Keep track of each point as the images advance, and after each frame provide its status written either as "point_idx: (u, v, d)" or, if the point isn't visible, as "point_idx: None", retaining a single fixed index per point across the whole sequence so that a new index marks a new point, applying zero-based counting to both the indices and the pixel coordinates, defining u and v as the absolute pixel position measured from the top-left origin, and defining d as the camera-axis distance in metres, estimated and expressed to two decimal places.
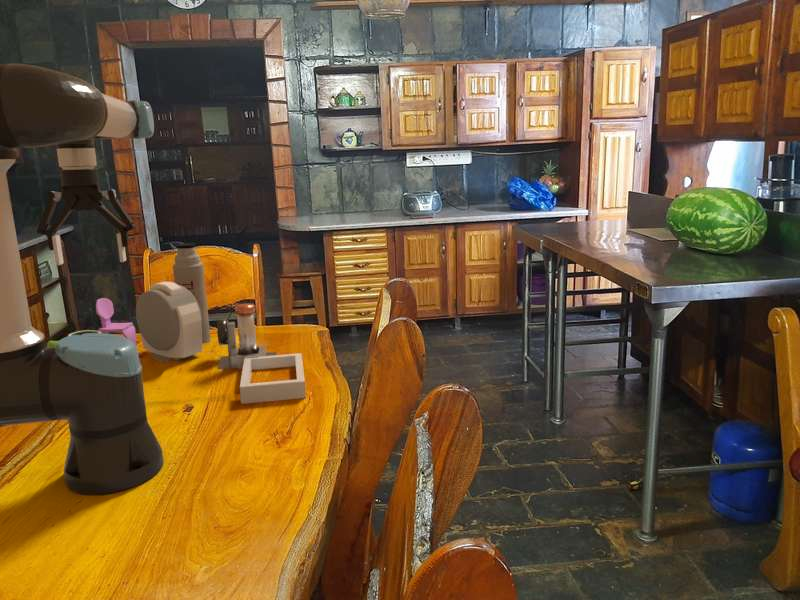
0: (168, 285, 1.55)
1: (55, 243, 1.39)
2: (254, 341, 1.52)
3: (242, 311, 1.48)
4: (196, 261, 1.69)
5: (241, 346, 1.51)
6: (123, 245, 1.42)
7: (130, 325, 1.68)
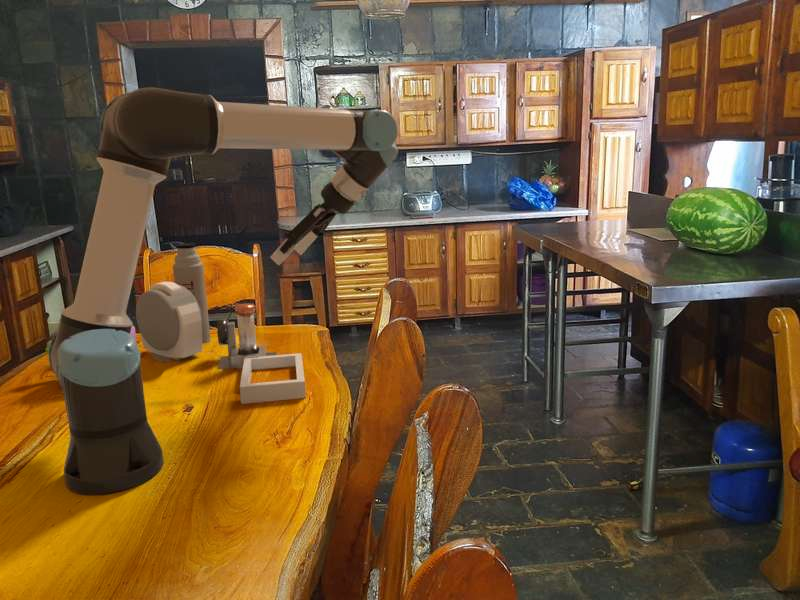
0: (168, 285, 1.55)
1: None
2: (254, 341, 1.52)
3: (242, 311, 1.48)
4: (196, 261, 1.69)
5: (241, 346, 1.51)
6: None
7: None
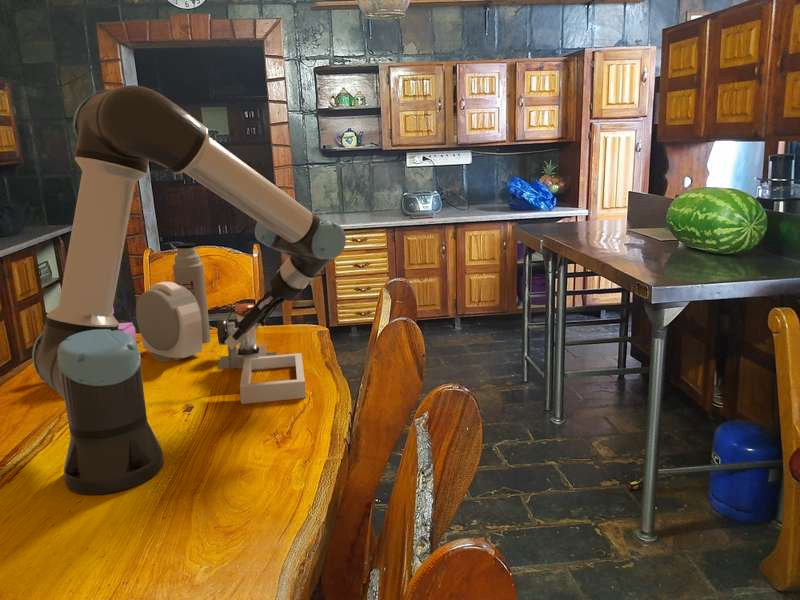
0: (168, 285, 1.55)
1: None
2: (254, 341, 1.52)
3: (242, 311, 1.48)
4: (196, 261, 1.69)
5: (241, 346, 1.51)
6: None
7: (130, 325, 1.68)
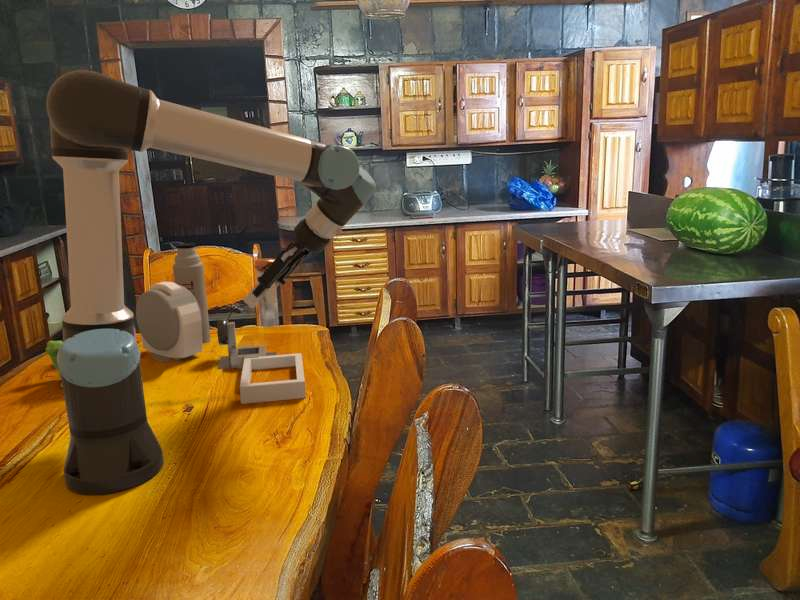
0: (168, 285, 1.55)
1: None
2: (275, 300, 1.37)
3: (263, 266, 1.33)
4: (196, 261, 1.69)
5: (261, 305, 1.36)
6: None
7: None
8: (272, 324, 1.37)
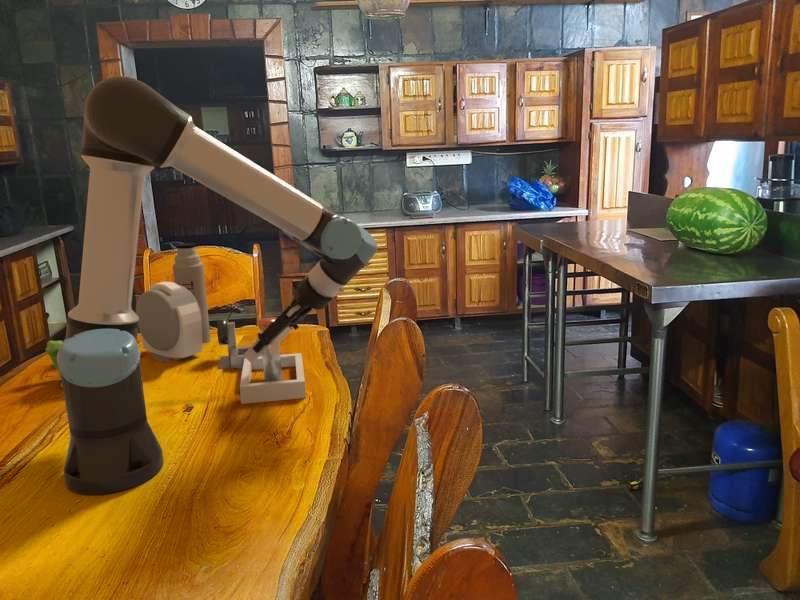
0: (168, 285, 1.55)
1: None
2: (279, 358, 1.40)
3: (267, 326, 1.36)
4: (196, 261, 1.69)
5: (264, 363, 1.39)
6: None
7: None
8: None
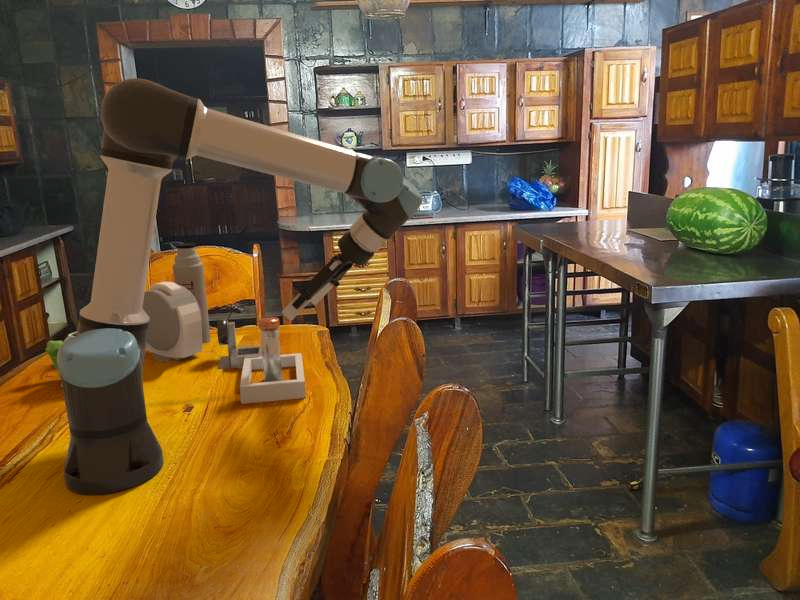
0: (168, 285, 1.55)
1: None
2: (279, 358, 1.40)
3: (267, 326, 1.36)
4: (196, 261, 1.69)
5: (264, 363, 1.39)
6: None
7: None
8: None
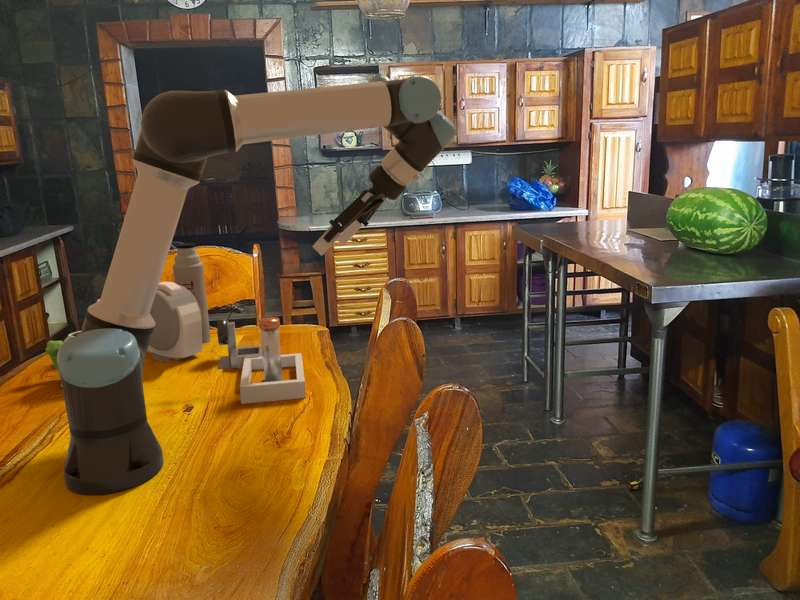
0: (168, 285, 1.55)
1: None
2: (279, 358, 1.40)
3: (267, 326, 1.36)
4: (196, 261, 1.69)
5: (265, 363, 1.39)
6: None
7: None
8: None
